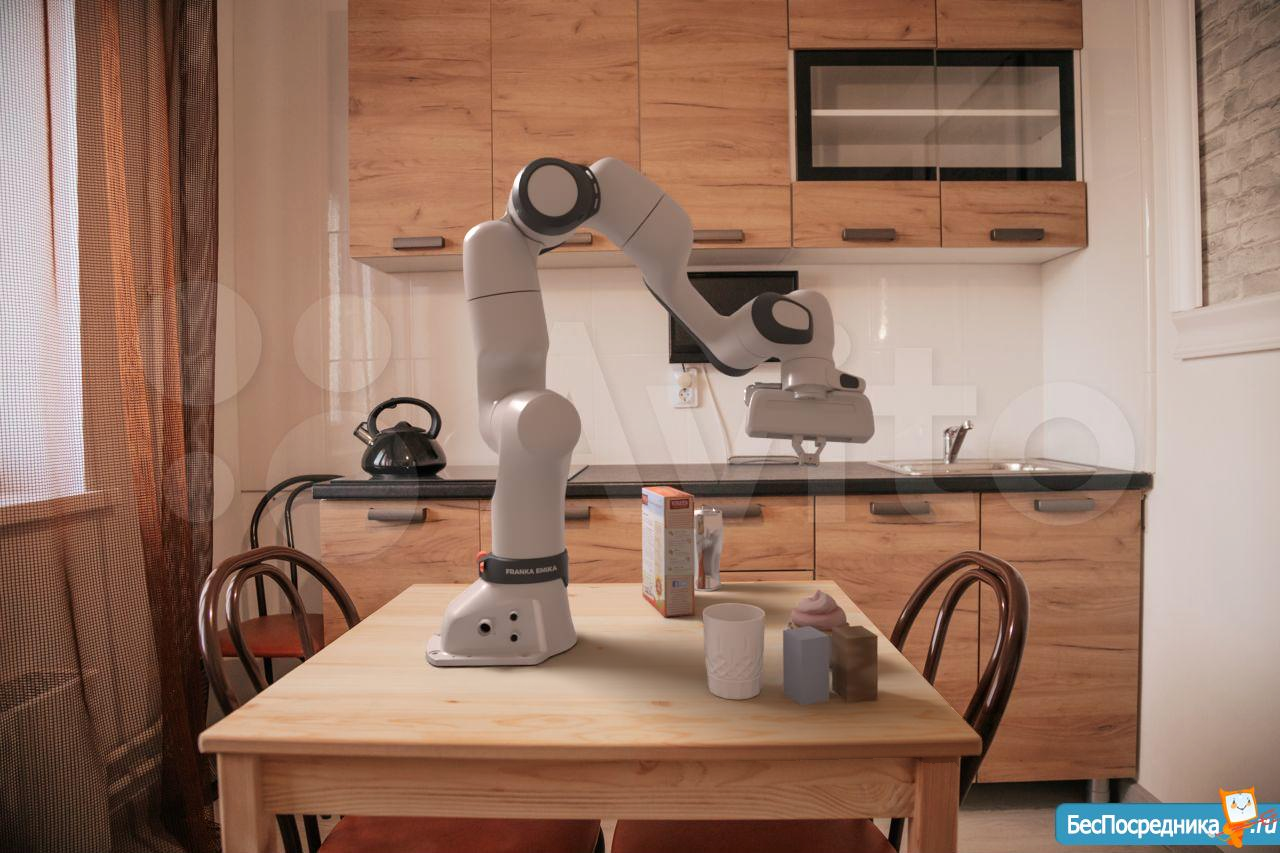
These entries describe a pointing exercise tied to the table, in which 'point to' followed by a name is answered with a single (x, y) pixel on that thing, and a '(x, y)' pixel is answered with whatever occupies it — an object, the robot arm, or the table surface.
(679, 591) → the cracker box
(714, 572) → the beer glass
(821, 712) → the table surface
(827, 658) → the slate-blue block
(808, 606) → the cupcake
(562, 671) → the table surface
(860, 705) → the table surface
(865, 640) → the walnut block
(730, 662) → the white cup
